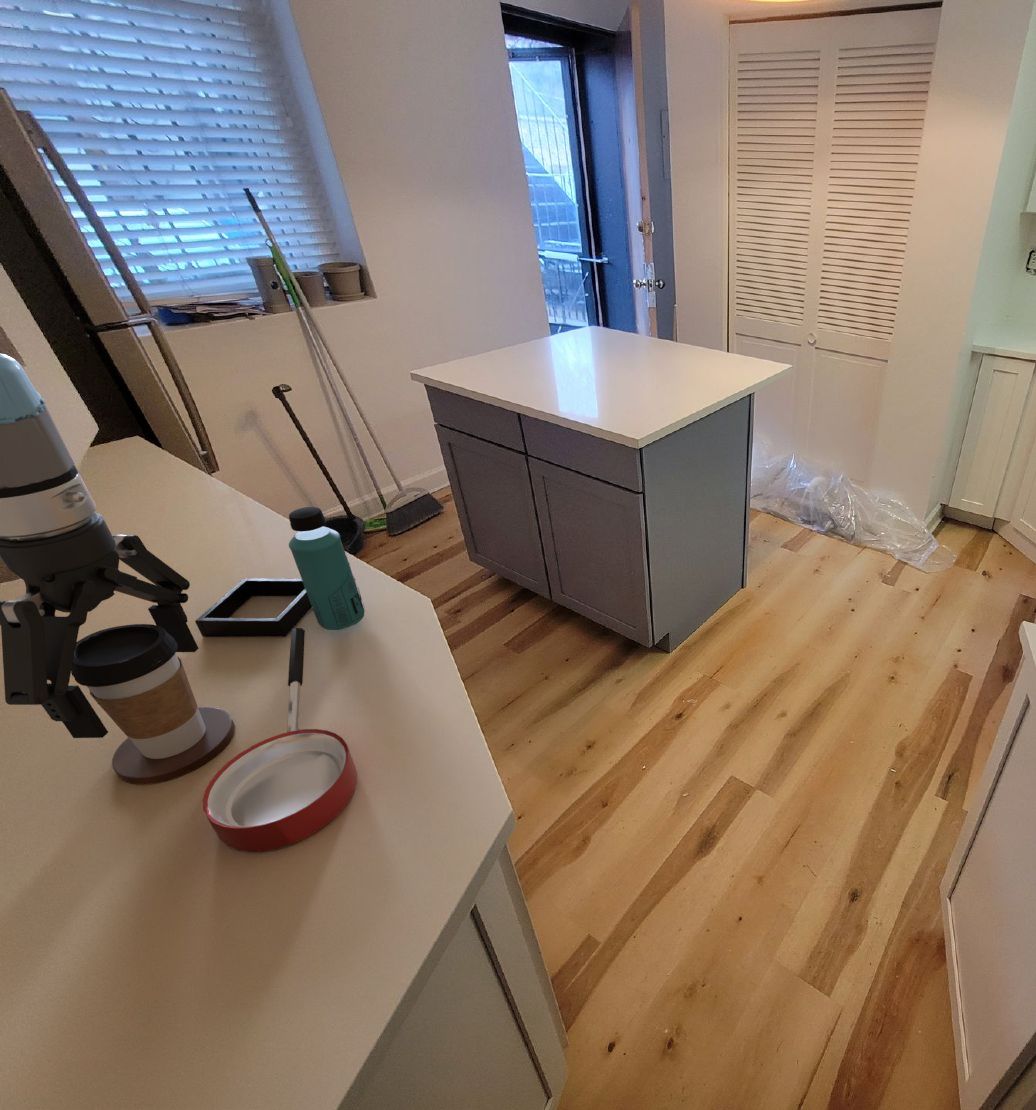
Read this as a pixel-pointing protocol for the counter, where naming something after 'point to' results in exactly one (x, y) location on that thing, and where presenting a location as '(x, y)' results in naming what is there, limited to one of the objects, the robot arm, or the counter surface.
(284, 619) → the black open frame
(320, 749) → the frying pan
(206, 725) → the walnut coaster
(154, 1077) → the counter surface
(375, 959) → the counter surface
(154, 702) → the coffee cup
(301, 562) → the beverage bottle
